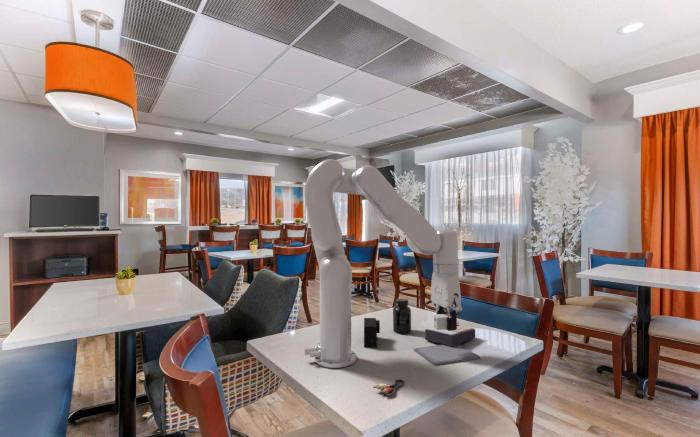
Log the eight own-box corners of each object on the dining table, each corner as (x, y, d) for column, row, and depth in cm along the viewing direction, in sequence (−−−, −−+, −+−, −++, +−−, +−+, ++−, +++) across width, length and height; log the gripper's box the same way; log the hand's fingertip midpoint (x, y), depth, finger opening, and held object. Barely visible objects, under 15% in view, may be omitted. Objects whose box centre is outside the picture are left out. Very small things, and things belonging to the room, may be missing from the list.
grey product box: (475, 327, 116) (452, 333, 106) (475, 339, 115) (453, 347, 105) (448, 321, 124) (424, 327, 114) (448, 333, 123) (424, 339, 114)
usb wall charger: (433, 326, 104) (433, 313, 104) (455, 326, 104) (455, 313, 104) (437, 330, 100) (436, 317, 100) (459, 330, 100) (459, 317, 100)
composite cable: (399, 381, 85) (399, 372, 85) (413, 388, 81) (413, 378, 81) (371, 393, 79) (371, 383, 79) (385, 402, 75) (385, 391, 75)
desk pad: (434, 365, 94) (434, 363, 94) (413, 350, 105) (413, 348, 105) (480, 358, 99) (480, 356, 99) (456, 344, 110) (456, 342, 110)
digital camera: (380, 348, 108) (380, 326, 108) (364, 347, 108) (364, 326, 108) (379, 337, 118) (379, 317, 118) (364, 336, 118) (364, 317, 118)
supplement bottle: (414, 330, 125) (413, 299, 125) (407, 335, 119) (406, 302, 119) (397, 327, 129) (397, 297, 129) (390, 332, 123) (389, 300, 123)
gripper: (421, 266, 109) (421, 321, 109) (451, 273, 93) (452, 337, 93) (440, 265, 112) (441, 318, 111) (473, 272, 96) (474, 334, 95)
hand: (446, 326), depth 102 cm, fingers closed on usb wall charger, 4 cm apart
